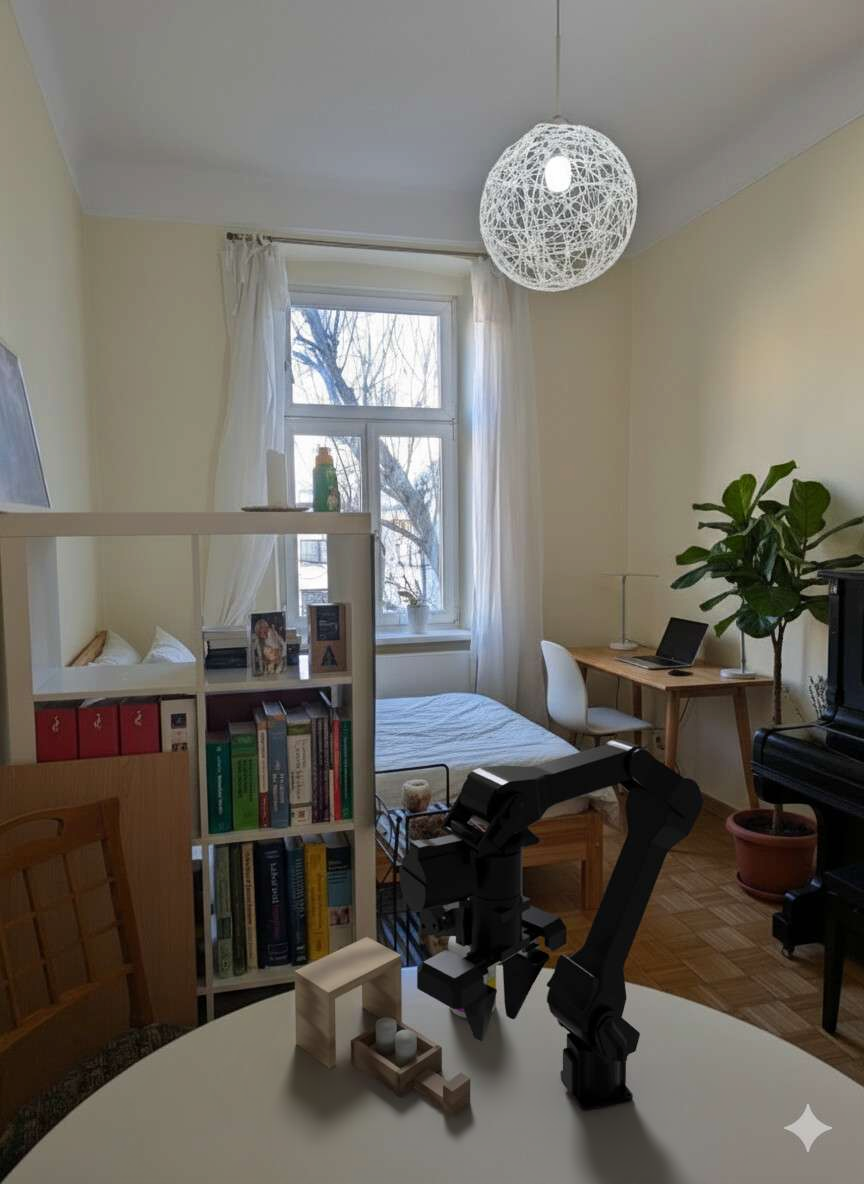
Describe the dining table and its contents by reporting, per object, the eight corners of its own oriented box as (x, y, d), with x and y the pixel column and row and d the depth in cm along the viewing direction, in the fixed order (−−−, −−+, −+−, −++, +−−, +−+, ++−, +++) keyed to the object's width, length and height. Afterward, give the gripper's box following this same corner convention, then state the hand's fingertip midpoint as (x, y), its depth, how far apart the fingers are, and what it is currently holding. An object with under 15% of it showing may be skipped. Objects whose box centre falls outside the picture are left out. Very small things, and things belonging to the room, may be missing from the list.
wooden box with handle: (481, 1094, 94) (481, 1057, 93) (440, 1126, 89) (440, 1086, 88) (392, 1036, 104) (392, 1003, 104) (351, 1062, 99) (350, 1026, 99)
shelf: (401, 1025, 107) (401, 955, 106) (329, 1068, 98) (328, 992, 98) (367, 1003, 112) (366, 936, 111) (296, 1043, 103) (294, 970, 103)
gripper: (494, 844, 98) (493, 967, 99) (380, 893, 85) (381, 1034, 86) (569, 871, 90) (568, 1003, 91) (457, 929, 77) (457, 1083, 78)
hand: (495, 1028), depth 87 cm, fingers open, 5 cm apart
